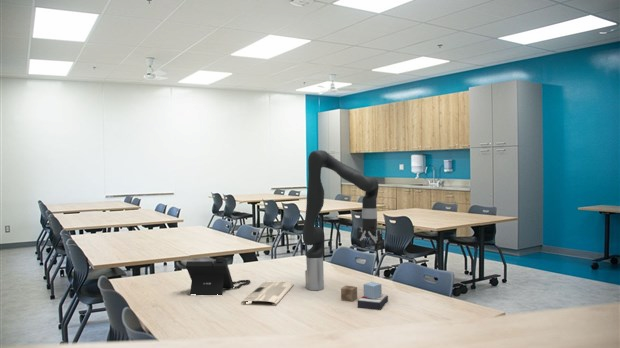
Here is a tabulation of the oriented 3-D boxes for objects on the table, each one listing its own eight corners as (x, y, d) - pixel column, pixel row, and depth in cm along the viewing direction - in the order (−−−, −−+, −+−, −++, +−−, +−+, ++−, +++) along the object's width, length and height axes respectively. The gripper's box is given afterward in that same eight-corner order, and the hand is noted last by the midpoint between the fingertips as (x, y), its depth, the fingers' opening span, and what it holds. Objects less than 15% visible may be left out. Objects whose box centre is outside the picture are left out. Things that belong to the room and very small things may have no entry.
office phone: (252, 282, 263) (251, 247, 263) (240, 296, 235) (239, 257, 235) (203, 282, 266) (202, 248, 266) (186, 296, 238) (185, 258, 237)
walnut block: (341, 300, 223) (340, 288, 223) (346, 297, 228) (346, 285, 228) (352, 302, 220) (352, 289, 220) (357, 298, 225) (356, 286, 225)
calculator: (388, 294, 220) (380, 301, 206) (388, 303, 220) (380, 310, 206) (366, 292, 225) (357, 299, 211) (366, 300, 224) (357, 308, 211)
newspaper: (263, 285, 256) (263, 280, 256) (296, 286, 252) (296, 281, 252) (241, 305, 220) (241, 299, 220) (279, 307, 216) (279, 301, 216)
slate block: (363, 296, 216) (363, 284, 215) (371, 293, 220) (371, 281, 219) (373, 299, 211) (373, 286, 211) (381, 296, 215) (381, 283, 215)
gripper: (353, 216, 228) (353, 248, 228) (376, 219, 218) (376, 252, 218) (363, 215, 233) (363, 246, 234) (385, 217, 223) (385, 250, 224)
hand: (369, 249), depth 226 cm, fingers open, 8 cm apart
